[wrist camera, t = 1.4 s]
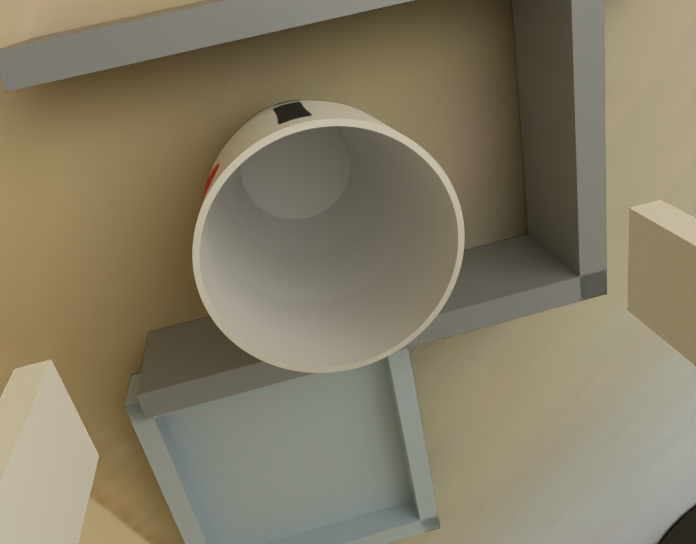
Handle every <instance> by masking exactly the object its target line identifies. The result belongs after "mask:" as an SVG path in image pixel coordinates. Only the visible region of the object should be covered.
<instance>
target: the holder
mask: <svg viewBox="0 0 696 544" xmlns="http://www.w3.org/2000/svg"><path fill="white" fill-rule="evenodd" d="M409 1H413V0H206V1H201V2H197V3H192V4H188V5H183V6H179V7H174V8H169V9H165V10H160V11H156V12H151V13H147V14H142V15H137V16H133V17H128V18H124V19H119V20H115V21H110V22H105V23H101V24H96V25H92V26H87V27H83V28H78V29H73V30H69V31H64V32H60V33H55V34H51V35H46V36H41V37H37V38H32V39H29V40H26V41H23V42H20V43H17V44H14V45H11V46H8V47H5V48H1V49H0V78H1V80H2V83H3V85H4V87H5V90H6V92H8V91H13V90H17V89H22V88H26V87H31V86H35V85H40V84H44V83H48V82H53V81H57V80H62V79H66V78H71V77H75V76H80V75H84V74H88V73H93V72H97V71H102V70H106V69H111V68H115V67H120V66H124V65H129V64H133V63H137V62H142V61H146V60H151V59H155V58H160V57H164V56H169V55H173V54H177V53H182V52H186V51H191V50H195V49H200V48H204V47H209V46H213V45H217V44H222V43H226V42H231V41H235V40H240V39H244V38H249V37H253V36H258V35H262V34H266V33H271V32H275V31H280V30H284V29H289V28H293V27H298V26H302V25H306V24H311V23H315V22H320V21H324V20H329V19H333V18H338V17H342V16H347V15H351V14H355V13H360V12H364V11H369V10H373V9H378V8H382V7H387V6H391V5H395V4H400V3H404V2H409ZM512 10H513V24H514V38H515V52H516V67H517V81H518V95H519V110H520V124H521V138H522V153H523V167H524V181H525V195H526V210H527V224H528V234H526V235H522V236H518V237H514V238H510V239H506V240H502V241H499V242H495V243H491V244H487V245H483V246H479V247H476V248H472V249H468V250H464V253H463V259H462V264H461V268H460V272H459V275H458V278H457V281H456V283H455V286H454V288H453V290H452V292H451V294H450V296H449V298H448V300H447V301H446V303H445V305H444V306H443V308H442V309H441V311H440V312H439V313H438V315H437V316H436V317H435V319H434V320H433V321H432V322H431V323H430V324H429V325H428V327H427V328H426V329H425V330H424V331H422V332H421V333H420V334H419V335H418V336H417V337H416V338H415V339H413V340H412V341H411V342H410V343H408V344H407V345H405V346H404V347H402V348H401V349H399V350H402V349H405V348H409V347H413V346H417V345H420V344H424V343H428V342H431V341H435V340H439V339H442V338H446V337H450V336H453V335H457V334H461V333H465V332H468V331H472V330H476V329H479V328H483V327H487V326H490V325H494V324H498V323H501V322H505V321H509V320H513V319H516V318H520V317H524V316H527V315H531V314H535V313H538V312H542V311H546V310H549V309H553V308H557V307H561V306H564V305H568V304H572V303H575V302H579V301H583V300H586V299H590V298H594V297H597V296H601V295H605V294H607V260H606V153H605V47H604V0H512ZM310 374H313V373H309V372H299V371H293V370H288V369H284V368H281V367H277V366H274V365H271V364H269V363H266V362H264V361H262V360H260V359H258V358H256V357H254V356H252V355H250V354H249V353H247V352H245V351H244V350H242V349H241V348H240V347H238V346H237V345H236V344H235V343H233V342H232V341H231V340H230V339H229V338H228V337H227V336H226V335H225V334H224V333H223V332H222V331H221V330H220V329H219V327H218V326H217V325H216V324H215V322H214V321H213V319H212V318H211V316H210V317H206V318H202V319H198V320H195V321H191V322H187V323H183V324H179V325H175V326H172V327H168V328H164V329H160V330H156V331H152V332H149V333H148V338H147V343H146V348H145V353H144V358H143V363H142V369H141V374H140V379H139V384H138V389H137V394H136V396H137V398H138V401H139V403H140V405H141V408H142V410H143V412H144V415H145V417H146V419H147V418H151V417H154V416H158V415H162V414H166V413H169V412H173V411H177V410H180V409H184V408H188V407H191V406H195V405H199V404H202V403H206V402H210V401H214V400H217V399H221V398H225V397H228V396H232V395H236V394H239V393H243V392H247V391H250V390H254V389H258V388H262V387H265V386H269V385H273V384H276V383H280V382H284V381H287V380H291V379H295V378H298V377H302V376H306V375H310Z"/></svg>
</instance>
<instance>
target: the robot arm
mask: <svg viewBox="0 0 696 544" xmlns="http://www.w3.org/2000/svg"><path fill="white" fill-rule="evenodd" d="M628 311H630V312H631V313H632V314H633V315H634V316H636V317H637V318H638V319H639V320H641V321H642V322H643V323H644V324H645V325H647V326H648V327H649V328H650V329H651V330H653V331H654V332H655V333H656V334H658V335H659V336H660V337H661V338H662V339H664V340H665V341H666V342H667V343H668V344H670V345H671V346H672V347H673V348H675V349H676V350H677V351H678V352H679V353H681V354H682V355H683V356H684V357H685V358H687V359H688V360H689V361H690V362H692V363H693V364H694V365H695V366H696V218H695V217H693V216H691V215H689V214H687V213H685V212H683V211H681V210H679V209H677V208H675V207H673V206H671V205H669V204H668V203H666V202H664V201H662V200H658V201H654V202H650V203H646V204H642V205H639V206H635V207H631V208H629V259H628ZM98 459H99V455H98V453H97V451H96V449H95V447H94V445H93V443H92V441H91V439H90V437H89V434H88V432H87V430H86V428H85V426H84V424H83V422H82V420H81V418H80V416H79V414H78V412H77V410H76V408H75V406H74V404H73V402H72V400H71V398H70V396H69V394H68V392H67V390H66V388H65V386H64V384H63V382H62V380H61V378H60V376H59V374H58V372H57V370H56V368H55V366H54V364H53V362H52V360H51V359H50V360H46V361H43V362H39V363H35V364H31V365H27V366H23V367H20V368H16V369H14V371H13V373H12V375H11V377H10V379H9V381H8V383H7V385H6V387H5V389H4V391H3V393H2V395H1V397H0V544H79V539H80V535H81V531H82V526H83V522H84V518H85V514H86V510H87V505H88V501H89V497H90V493H91V488H92V484H93V480H94V476H95V471H96V467H97V463H98ZM661 544H696V508H694V509H693V510H692V511H691V512H689V513H688V514H687V515H686V516H685V517H684V518H683V519H682V520H681V521H680V522H679V523H678V524H677V525H676V526H675V527H674V528H673V529H672V530H671V531H670V532H669V534H668V535H667V536H666V537H665V539H664V540H663V541H662V543H661Z"/></svg>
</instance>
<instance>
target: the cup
mask: <svg viewBox="0 0 696 544" xmlns="http://www.w3.org/2000/svg"><path fill="white" fill-rule="evenodd" d="M464 241H465V233H464V221H463V215H462V211H461V207H460V203H459V200H458V197H457V195H456V192H455V190H454V188H453V186H452V184H451V182H450V180H449V178H448V177H447V175H446V174H445V172H444V171H443V169H442V168H441V167H440V165H439V164H438V163H437V162H436V161H435V159H434V158H433V157H432V156H431V155H430V154H429V153H428V152H427V151H425V150H424V149H423V148H422V147H421V146H419V145H418V144H417V143H415V142H414V141H412V140H411V139H409V138H408V137H406V136H404V135H403V134H401V133H399V132H398V131H396V130H394V129H392V128H391V127H389V126H387V125H386V124H384V123H382V122H380V121H379V120H377V119H375V118H374V117H372V116H370V115H368V114H367V113H365V112H363V111H361V110H358V109H356V108H353V107H350V106H347V105H344V104H340V103H335V102H328V101H315V100H293V101H287V102H282V103H279V104H276V105H273V106H270V107H268V108H266V109H264V110H262V111H260V112H259V113H257V114H255V115H254V116H253V117H251V118H250V119H249V120H248V121H247V122H245V123H244V124H243V125H242V126H241V128H240V129H239V130H238V131H237V132H236V133H235V134H234V135H233V137H232V138H231V139H230V140H229V141H228V142H227V144H226V145H225V146H224V148H223V149H222V151H221V152H220V154H219V155H218V157H217V159H216V161H215V162H214V165H213V167H212V169H211V172H210V174H209V177H208V180H207V184H206V188H205V192H204V196H203V200H202V203H201V207H200V211H199V215H198V219H197V223H196V227H195V231H194V237H193V248H192V261H193V271H194V277H195V281H196V285H197V289H198V292H199V295H200V297H201V300H202V302H203V304H204V306H205V308H206V310H207V312H208V313H209V315H210V316H211V318H212V319H213V321H214V322H215V324H216V325H217V326H218V327H219V329H220V330H221V331H222V332H223V333H224V334H225V335H226V336H227V337H228V338H229V339H230V340H231V341H232V342H233V343H235V344H236V345H237V346H238V347H240V348H241V349H242V350H244V351H245V352H247V353H249V354H250V355H252V356H254V357H256V358H258V359H260V360H262V361H264V362H266V363H269V364H271V365H274V366H277V367H281V368H284V369H288V370H293V371H299V372H309V373H330V372H339V371H346V370H351V369H355V368H359V367H362V366H365V365H368V364H371V363H374V362H376V361H379V360H381V359H383V358H385V357H387V356H389V355H391V354H393V353H394V352H396V351H398V350H399V349H401V348H402V347H404V346H405V345H407V344H408V343H410V342H411V341H412V340H413V339H415V338H416V337H417V336H418V335H419V334H420V333H421V332H422V331H424V330H425V329H426V328H427V327H428V325H429V324H430V323H431V322H432V321H433V320H434V319H435V317H436V316H437V315H438V313H439V312H440V311H441V309H442V308H443V306H444V305H445V303H446V301H447V300H448V298H449V296H450V294H451V292H452V290H453V288H454V286H455V283H456V281H457V278H458V275H459V272H460V268H461V264H462V259H463V253H464Z"/></svg>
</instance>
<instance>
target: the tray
mask: <svg viewBox="0 0 696 544" xmlns="http://www.w3.org/2000/svg"><path fill="white" fill-rule="evenodd" d="M140 374H141V373H138V374H135V375H131V379H130V384H129V388H128V393H127V397H126V402H125V406H124V407H125V409H126V412H127V414H128V416H129V418H130V421H131V423H132V425H133V427H134V430H135V432H136V434H137V436H138V439H139V441H140V443H141V445H142V448H143V450H144V452H145V454H146V457H147V459H148V461H149V464H150V466H151V468H152V470H153V473H154V475H155V477H156V479H157V482H158V484H159V486H160V488H161V491H162V493H163V495H164V497H165V500H166V502H167V504H168V506H169V509H170V511H171V513H172V515H173V518H174V520H175V522H176V524H177V527H178V529H179V531H180V534H181V536H182V538H183V540H184V543H185V544H389V543H392V542H395V541H399V540H402V539H405V538H409V537H412V536H416V535H419V534H422V533H426V532H429V531H432V530H436V529H439V528H440V523H439V518H438V512H437V507H436V501H435V496H434V490H433V484H432V479H431V473H430V468H429V462H428V456H427V451H426V445H425V440H424V434H423V428H422V423H421V417H420V412H419V406H418V401H417V395H416V389H415V384H414V378H413V373H412V367H411V361H410V356H409V350H408V348H405V349H402V350H398V351H396V352H394V353H393V354H391V355H389V356H387V357H385V358H383V359H381V360H379V361H376V362H374V363H371V364H368V365H365V366H362V367H359V368H355V369H351V370H346V371H339V372H330V373H313V374H310V375H306V376H302V377H298V378H295V379H291V380H287V381H284V382H280V383H276V384H273V385H269V386H265V387H262V388H258V389H254V390H250V391H247V392H243V393H239V394H236V395H232V396H228V397H225V398H221V399H217V400H214V401H210V402H206V403H202V404H199V405H195V406H191V407H188V408H184V409H180V410H177V411H173V412H169V413H166V414H162V415H158V416H154V417H151V418H147V419H146V417H145V415H144V412H143V410H142V408H141V405H140V403H139V401H138V398H137V396H136V394H137V389H138V384H139V379H140Z"/></svg>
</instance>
